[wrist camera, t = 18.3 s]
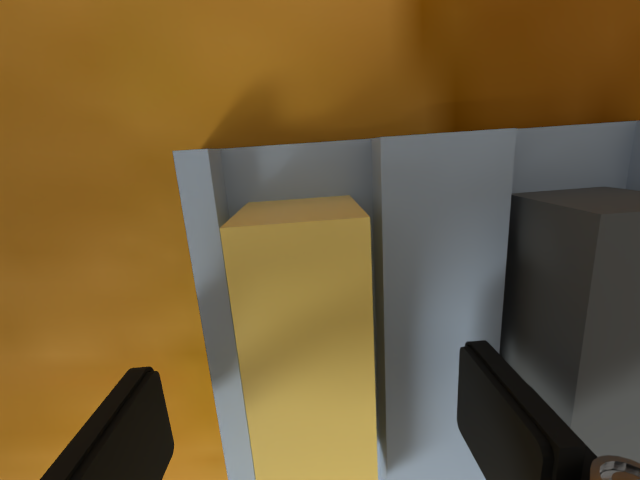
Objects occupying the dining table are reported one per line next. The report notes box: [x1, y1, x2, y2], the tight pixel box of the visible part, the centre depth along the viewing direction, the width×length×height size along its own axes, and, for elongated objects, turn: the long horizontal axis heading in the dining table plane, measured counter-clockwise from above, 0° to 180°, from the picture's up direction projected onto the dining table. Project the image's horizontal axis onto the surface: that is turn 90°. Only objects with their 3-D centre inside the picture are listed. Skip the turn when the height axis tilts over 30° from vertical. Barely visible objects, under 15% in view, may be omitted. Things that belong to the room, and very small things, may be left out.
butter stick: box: [220, 195, 378, 480], centre depth 11 cm, size 11×4×4 cm, turn 4°
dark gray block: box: [499, 187, 640, 463], centre depth 12 cm, size 11×4×4 cm, turn 4°
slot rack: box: [173, 120, 640, 480], centre depth 13 cm, size 16×15×2 cm
